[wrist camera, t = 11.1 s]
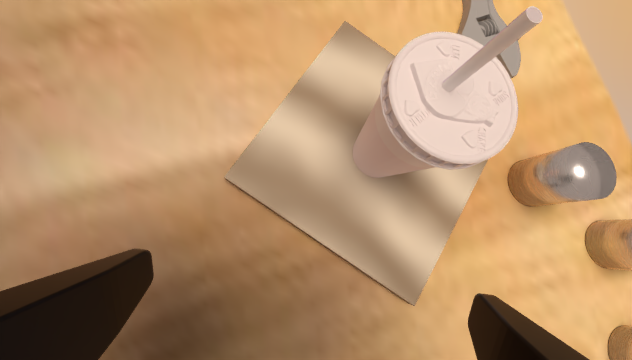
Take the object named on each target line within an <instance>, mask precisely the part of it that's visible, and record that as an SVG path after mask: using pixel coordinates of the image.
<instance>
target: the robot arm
mask: <svg viewBox="0 0 632 360" xmlns="http://www.w3.org/2000/svg"><path fill="white" fill-rule="evenodd" d="M152 280H153V265H152V256H151V253H150V251H148V250H143V249H131V250H128V251H125V252H122V253H119V254H116V255H113V256H109V257H106V258H103V259H100V260H97V261H94V262H91V263H88V264H84V265H81V266H78V267H75V268H72V269H69V270H66V271H62V272H59V273H56V274H53V275H50V276H47V277H44V278H41V279H37V280H34V281H31V282H28V283H25V284H22V285H19V286H16V287H12V288H9V289H6V290H3V291H0V360H98V359H99V358H100V357H101V355H102V354H103V353H104V352H105V350H106V349H107V348H108V346H109V345H110V344H111V343H112V341H113V340H114V339H115V337H116V336H117V335H118V333H119V332H120V330H121V329H122V328H123V326H124V325H125V323H126V322H127V320H128V319H129V317H130V315H131V314H132V312H133V311H134V309H135V308H136V306H137V305H138V303H139V302H140V300H141V299H142V297H143V295H144V294H145V292H146V291H147V289H148V288H149V286H150V285H151V283H152ZM468 328H469V332H470V335H471V339H472V342H473V346H474V349H475V353H476V356H477V360H589V359H588V358H586V357H585V356H583V355H582V354H580V353H579V352H577V351H576V350H574V349H573V348H571V347H570V346H568V345H567V344H565V343H564V342H562V341H561V340H559V339H558V338H556V337H555V336H554V335H552V334H551V333H549V332H548V331H546V330H545V329H543V328H542V327H540V326H539V325H537V324H536V323H534V322H533V321H531V320H530V319H528V318H527V317H525V316H524V315H522V314H521V313H519V312H518V311H517V310H515V309H514V308H512V307H511V306H509V305H508V304H506V303H505V302H503V301H502V300H500V299H499V298H497V297H496V296H494V295H488V294H480V293H479V294H477V295H476V296H475V297H474V300H473V304H472V307H471V311H470V314H469V318H468Z"/></svg>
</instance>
